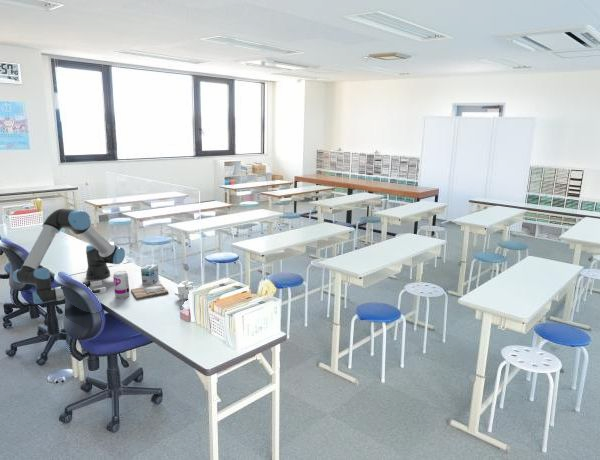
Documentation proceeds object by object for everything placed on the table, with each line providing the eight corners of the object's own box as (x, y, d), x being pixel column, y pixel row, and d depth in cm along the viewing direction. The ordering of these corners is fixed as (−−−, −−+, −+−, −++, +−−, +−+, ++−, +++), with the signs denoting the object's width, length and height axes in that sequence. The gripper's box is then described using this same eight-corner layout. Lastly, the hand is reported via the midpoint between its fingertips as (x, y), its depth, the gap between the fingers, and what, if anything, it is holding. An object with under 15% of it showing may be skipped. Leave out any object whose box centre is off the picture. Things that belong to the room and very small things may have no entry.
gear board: (131, 291, 281) (130, 288, 281) (161, 286, 291) (161, 283, 291) (136, 300, 268) (136, 297, 268) (168, 293, 278) (168, 291, 278)
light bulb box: (151, 284, 293) (149, 269, 291) (141, 284, 295) (140, 268, 292) (159, 279, 304) (158, 264, 301) (150, 278, 305) (148, 263, 302)
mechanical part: (184, 294, 277) (183, 276, 274) (198, 298, 271) (197, 279, 269) (170, 300, 268) (169, 281, 265) (185, 304, 262) (184, 285, 259)
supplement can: (121, 299, 269) (118, 276, 265) (112, 296, 273) (110, 273, 270) (132, 295, 276) (130, 272, 272) (123, 292, 280) (121, 269, 276)
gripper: (63, 291, 268) (101, 285, 278) (67, 306, 247) (108, 298, 258) (61, 280, 266) (100, 274, 277) (65, 293, 245) (106, 286, 256)
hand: (104, 285), depth 267 cm, fingers open, 13 cm apart
